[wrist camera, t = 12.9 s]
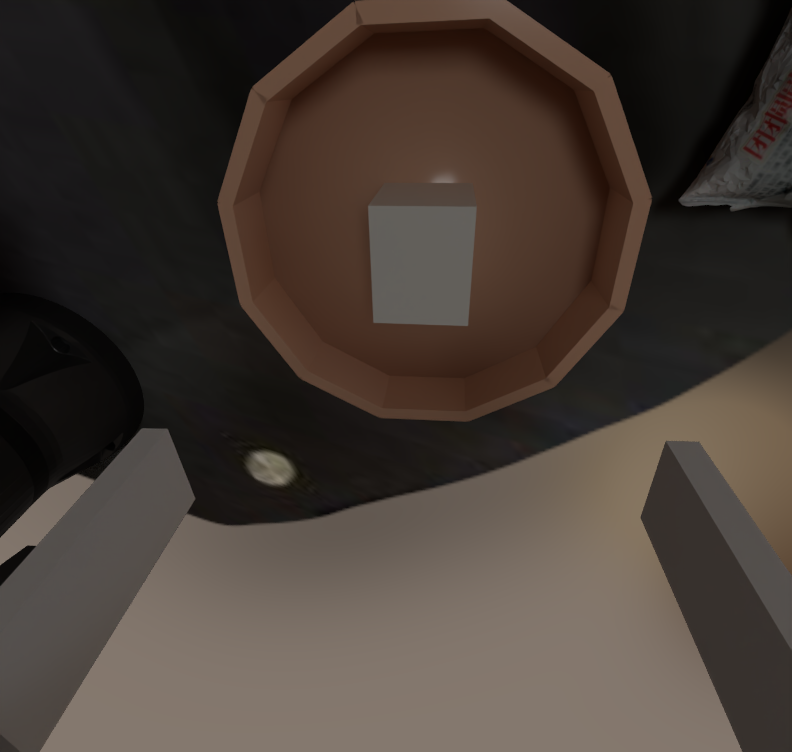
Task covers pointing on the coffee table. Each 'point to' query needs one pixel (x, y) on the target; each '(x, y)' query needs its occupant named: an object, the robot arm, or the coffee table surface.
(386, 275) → the grey cube
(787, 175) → the packaged food
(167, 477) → the robot arm
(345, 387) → the bowl
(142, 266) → the coffee table surface
